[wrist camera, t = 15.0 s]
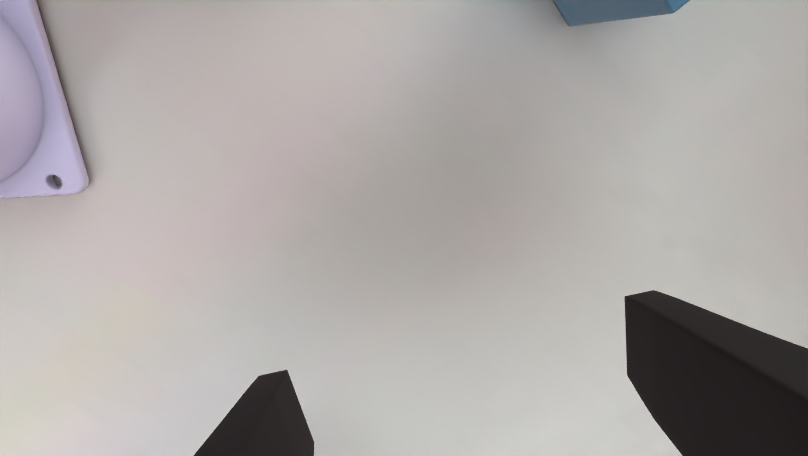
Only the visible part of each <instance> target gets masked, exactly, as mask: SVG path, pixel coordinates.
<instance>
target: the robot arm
mask: <svg viewBox="0 0 808 456" xmlns="http://www.w3.org/2000/svg"><path fill="white" fill-rule="evenodd" d="M53 175H56V176H57V177H59V178H60V180H61V181H62V186H59V185H58V184H56V183H55V182H54V180H53ZM88 184H89V178H88V175H87V171H86V168H85V164H84V161H83V158H82V154H81V151H80V147H79V144H78V141H77V137H76V134H75V130H74V127H73V124H72V120H71V117H70V114H69V110H68V107H67V103H66V100H65V97H64V93H63V90H62V86H61V83H60V80H59V76H58V73H57V69H56V66H55V63H54V59H53V56H52V52H51V49H50V46H49V42H48V39H47V35H46V32H45V29H44V25H43V22H42V19H41V15H40V12H39V8H38V5H37V2H36V0H0V198H15V197H33V196H51V195H69V194H76V193H79V192H82V191H84V190H85V189H86V188H87V187H88ZM625 319H626V351H627V375H628V377H629V379H630V380H631V382H632V384H633V385H634V387H635V389H636V391H637V392H638V394H639V396H640V397H641V399H642V401H643V402H644V404H645V405H646V407H647V409H648V410H649V412H650V413H651V415H652V416H653V418H654V419H655V421H656V422H657V423H658V425H659V426H660V427H661V429H662V430H663V431H664V432H665V434H666V435H667V436H668V438H669V439H670V440H671V441H672V443H673V444H674V445H675V446H676V448H677V449H678V450H679V452H680V453H681V454H682V455H683V456H808V349H807V348H804V347H802V346H799V345H796V344H793V343H791V342H788V341H785V340H782V339H780V338H777V337H774V336H772V335H769V334H766V333H764V332H761V331H759V330H756V329H753V328H751V327H748V326H746V325H743V324H741V323H738V322H736V321H733V320H730V319H728V318H725V317H723V316H720V315H718V314H715V313H713V312H710V311H708V310H705V309H703V308H700V307H698V306H695V305H693V304H690V303H688V302H685V301H683V300H680V299H677V298H675V297H672V296H669V295H667V294H664V293H661V292H658V291H654V290H652V291H648V292H643V293H639V294H634V295H629V296H625ZM194 456H314V441H313V438H312V436H311V433H310V430H309V428H308V425H307V422H306V419H305V417H304V414H303V411H302V409H301V406H300V403H299V401H298V398H297V395H296V392H295V390H294V387H293V384H292V382H291V379H290V376H289V373H288V371H287V370H284V371H279V372H275V373H270V374H265V375H261V376H258V378H257V379H256V380H255V381H254V382H253V383H252V384H251V386H250V387H249V388H248V389H247V390H246V392H245V393H244V394H243V395H242V397H241V398H240V399H239V400H238V402H237V403H236V404H235V405H234V407H233V408H232V409H231V410H230V412H229V413H228V414H227V415H226V417H225V418H224V419H223V420H222V422H221V423H220V424H219V425H218V427H217V428H216V429H215V430H214V431H213V433H212V434H211V435H210V436H209V438H208V439H207V440H206V441H205V442H204V444H203V445H202V446H201V447H200V449H199V450H198V451H197V452H196V453H195V455H194Z"/></svg>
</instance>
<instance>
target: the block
mask: <svg viewBox="0 0 808 456" xmlns="http://www.w3.org/2000/svg"><path fill="white" fill-rule="evenodd" d="M553 1H554V2H555V4H556V5H557V7H558V9H559V10H560V12H561V14H562V15H563V17H564V19H565V20H566V22H567V24H568V25H569V26H576V25H584V24H592V23H600V22H608V21H616V20H624V19H632V18H640V17H648V16H656V15H664V14H672V13H674V12H676V11H677V10H678V9H680V8H681V7H682V6H683V5H685V4H686V3H687V2H688V1H690V0H553Z"/></svg>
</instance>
